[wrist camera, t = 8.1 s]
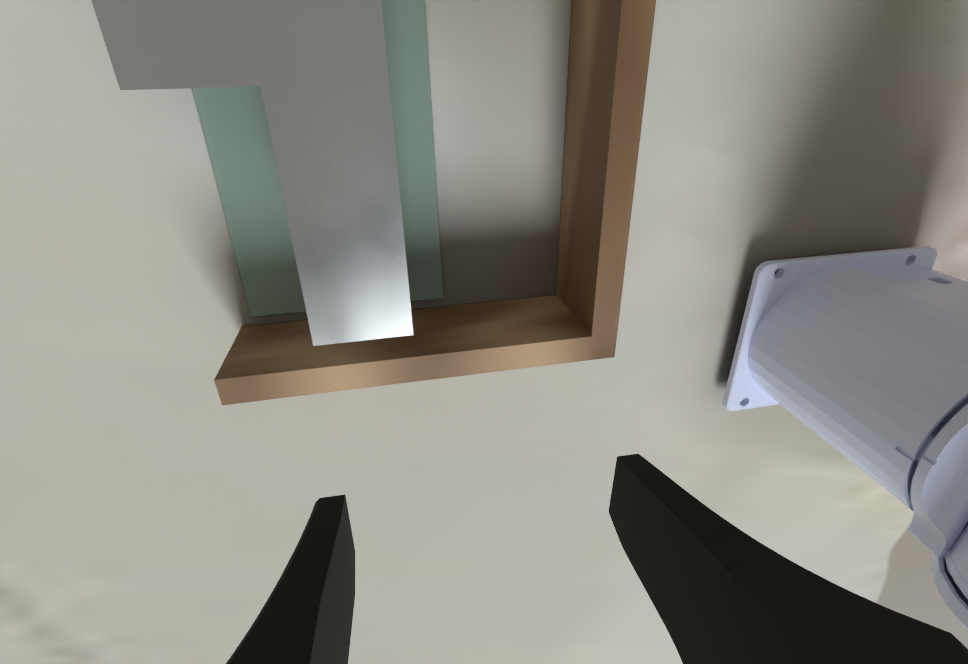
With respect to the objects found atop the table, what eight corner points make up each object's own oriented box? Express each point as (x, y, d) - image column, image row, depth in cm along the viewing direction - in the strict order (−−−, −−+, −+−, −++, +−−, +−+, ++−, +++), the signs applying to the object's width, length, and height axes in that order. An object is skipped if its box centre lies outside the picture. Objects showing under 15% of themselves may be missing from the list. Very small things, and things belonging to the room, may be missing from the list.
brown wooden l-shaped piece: (611, -164, 15) (683, -236, 12) (576, 313, 23) (614, 356, 19) (100, -196, 13) (-2, -298, 9) (248, 348, 20) (222, 405, 17)
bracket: (404, 277, 20) (413, 335, 15) (244, 292, 19) (206, 357, 14) (373, -29, 15) (374, -71, 11) (159, -32, 14) (66, -79, 10)
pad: (417, -108, 15) (418, -111, 15) (442, 295, 21) (443, 298, 21) (141, -118, 14) (136, -122, 13) (252, 313, 20) (250, 316, 19)
